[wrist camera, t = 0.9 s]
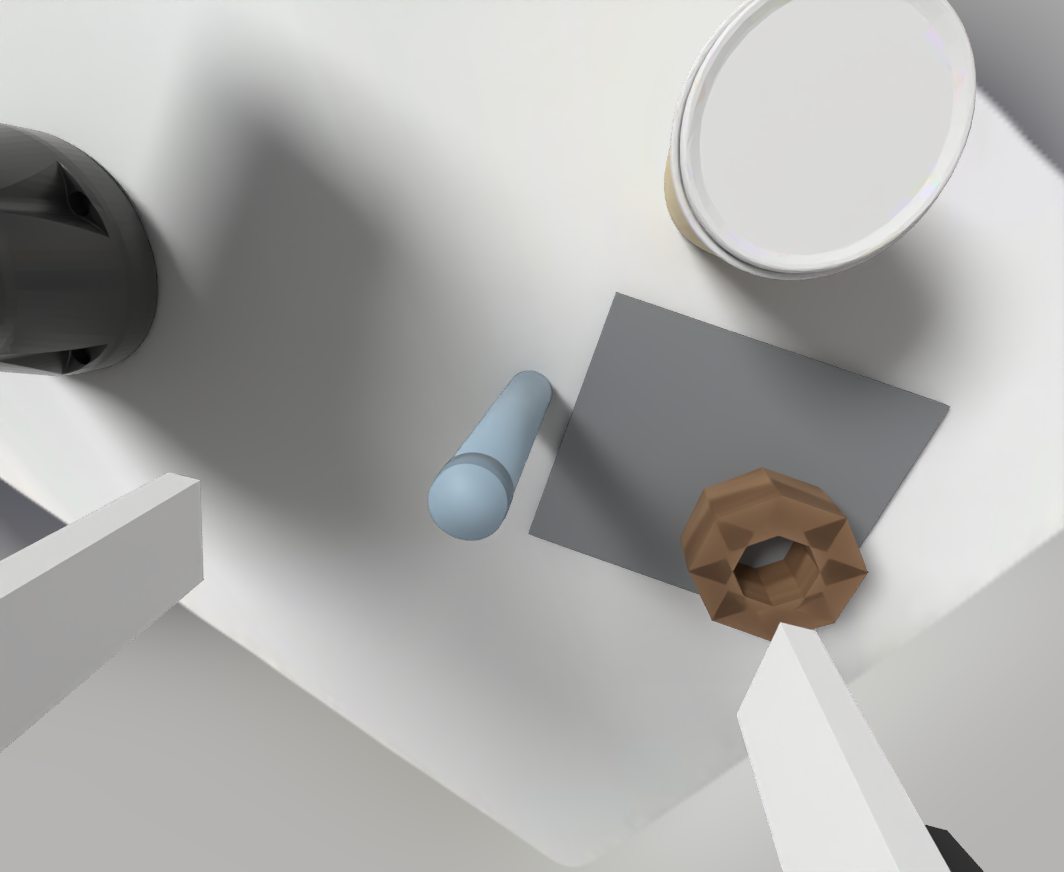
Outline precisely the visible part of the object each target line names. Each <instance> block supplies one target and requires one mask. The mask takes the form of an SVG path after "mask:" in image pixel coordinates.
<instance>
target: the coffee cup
mask: <svg viewBox="0 0 1064 872" xmlns="http://www.w3.org/2000/svg"><path fill="white" fill-rule="evenodd" d="M975 97H976V71H975V64H974V57H973V53H972V49H971V45H970V41H969V38H968V36H967V34H966V31H965V29H964V26H963V24H962V22H961V21H960V19H959V17H958V15H957V13H956V12H955V10H954V9H953V8H952V6H951V5H950V4H949V3H948V1H947V0H746V1H745V2H744V3H743V4H741V5H740V6H739V7H738V8H737V9H736V10H735V11H734V12H733V13H732V14H731V15H730V16H729V17H728V18H727V19H726V20H725V21H724V22H723V23H722V24H721V25H720V26H719V27H718V29H717V30H716V31H715V32H714V34H713V35H712V36H711V37H710V38H709V40H708V41H707V43H706V44H705V46H704V47H703V49H702V50H701V52H700V53H699V55H698V56H697V58H696V60H695V62H694V64H693V66H692V67H691V69H690V71H689V73H688V76H687V78H686V80H685V82H684V85H683V87H682V90H681V93H680V96H679V99H678V102H677V105H676V110H675V114H674V118H673V124H672V131H671V139H670V148H669V152H668V157H667V162H666V168H665V176H664V191H665V200H666V205H667V208H668V212H669V214H670V216H671V219H672V220H673V222H674V224H675V226H676V227H677V228H678V230H679V231H680V232H681V234H682V235H683V236H684V237H686V238H687V239H688V240H689V241H690V242H691V243H693V244H694V245H696V246H697V247H699V248H701V249H703V250H705V251H707V252H709V253H711V254H713V255H715V256H717V257H719V258H720V259H722V260H723V261H725V262H726V263H728V264H730V265H732V266H734V267H735V268H737V269H739V270H742V271H744V272H747V273H750V274H752V275H756V276H760V277H764V278H770V279H778V280H804V279H813V278H818V277H823V276H828V275H832V274H835V273H838V272H841V271H845V270H847V269H850V268H852V267H854V266H857V265H859V264H861V263H863V262H865V261H867V260H869V259H871V258H873V257H874V256H876V255H877V254H879V253H881V252H882V251H884V250H885V249H887V248H888V247H890V246H891V245H892V244H893V243H895V242H896V241H897V240H899V239H900V238H901V237H902V236H903V235H904V234H906V233H907V232H908V231H909V230H910V229H911V228H912V227H913V226H914V225H915V224H916V223H917V222H918V221H919V220H920V219H921V218H922V216H923V215H924V214H925V213H926V212H927V211H928V209H929V208H930V207H931V205H932V204H933V203H934V202H935V200H936V199H937V198H938V196H939V194H940V193H941V191H942V190H943V188H944V187H945V185H946V184H947V182H948V180H949V179H950V177H951V175H952V173H953V171H954V169H955V167H956V165H957V163H958V161H959V159H960V157H961V154H962V152H963V150H964V147H965V145H966V142H967V138H968V135H969V132H970V129H971V124H972V119H973V114H974V109H975Z"/></svg>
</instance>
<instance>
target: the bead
mask: <svg viewBox="0 0 1064 872" xmlns="http://www.w3.org/2000/svg"><path fill="white" fill-rule="evenodd" d="M847 519H848V518H847V517H846V516H845V515H844V514H843V513H842V512H841V510H840V509H839V508H838V507H837V506H836V505H835V504H834V503H833V501H832V500H831V499H830V498H829V497H828V496H827V495H826V494H825V492H824V491H823V490H822V489H821V488H820V487H817V486H814V485H811V484H809V483H806V482H803V481H800V480H797V479H794V478H791V477H788V476H785V475H783V474H780V473H777V472H774V471H771V470H768V469H765V468H763V467H761V468H759V469H756V470H753V471H751V472H748V473H745V474H743V475H740V476H738V477H735V478H732V479H730V480H727V481H724V482H722V483H719V484H716V485H714V486H711V487H708V488H706V489H703V491H702V494H701V496H700V498H699V500H698V502H697V504H696V506H695V508H694V510H693V512H692V514H691V516H690V518H689V520H688V522H687V524H686V526H685V528H684V530H683V532H682V534H681V536H680V540H681V544H682V548H683V552H684V556H685V560H686V564H687V568H688V572H689V573H690V575H691V577H692V579H693V582H694V584H695V586H696V588H697V590H698V592H699V594H700V596H701V598H702V600H703V602H704V604H705V606H706V608H707V611H708V613H709V615H710V617H711V620H712V621H716V622H718V623H721V624H724V625H727V626H730V627H732V628H735V629H738V630H741V631H744V632H747V633H749V634H752V635H755V636H758V637H761V638H764V639H766V640H769V641H772V639H773V637H774V634H775V632H776V630H777V628H778V626H779V624H780V622H781V623H786V624H790V625H794V626H798V627H802V628H806V629H810V630H811V629H814V628H818V627H821V626H825V625H828V624H832V623H835V621H836V619H837V618H838V616H839V615H840V613H841V612H842V610H843V609H844V607H845V606H846V604H847V603H848V601H849V600H850V598H851V597H852V595H853V594H854V592H855V591H856V589H857V588H858V586H859V585H860V583H861V582H862V580H863V579H864V577H865V576H866V574H867V573H868V571H867V569H866V567H865V564H864V561H863V559H862V556H861V554H860V551H859V548H858V546H857V543H856V540H855V538H854V535H853V533H852V530H851V527H850V525H849V522H848V520H847ZM776 536H781V537H784V538H787V539H790V540H793V541H794V542H793V544H792V545H791V547H790V549H789V551H788V552H787V554H786V556H785V557H784V559H783V560H780V561H777V562H774V563H771V564H767V565H764V566H761V567H758V568H753V567H750V566H747V565H745V564H742V563H739V562H738V561H739V559H740V558H741V556H742V554H743V552H744V550H745V549H746V547H747V546H750V545H753V544H756V543H759V542H761V541H764V540H767V539H770V538H773V537H776Z"/></svg>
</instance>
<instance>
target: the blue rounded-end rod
mask: <svg viewBox="0 0 1064 872" xmlns="http://www.w3.org/2000/svg"><path fill="white" fill-rule="evenodd" d="M551 395H552V390H551V386H550V383H549V381H548V380H547V379H546V378H545V377H544V376H543V375H542V374H540V373H538V372H535V371H523V372H520V373H519V374H517V375H516V376H515V377H514V378H513V379H512V380H511V381H510V383H509V384H508V385H507V387H506V388H505V389H504V391H503V392H502V393H501V395H500V396H499V397H498V399H497V400H496V401H495V403H494V404H493V405H492V407H491V408H490V409H489V410H488V412H487V413H486V414H485V416H484V417H483V418H482V420H481V421H480V422H479V424H478V425H477V426H476V428H475V429H474V430H473V432H472V433H471V434H470V436H469V437H468V438H467V440H466V441H465V442H464V443H463V445H462V446H461V447H460V449H459V450H458V451H457V453H456V454H455V455H454V457H453V458H452V459H451V460H450V461H449V462H448V463H447V464H446V465H445V466H444V468H443V469H442V470H441V472H440V473H439V474H438V476H437V477H436V478H435V480H434V482H433V484H432V486H431V488H430V491H429V495H428V507H429V511H430V514H431V516H432V518H433V520H434V521H435V523H436V524H437V525H438V526H439V527H440V528H441V529H442V530H443V531H444V532H446V533H447V534H449V535H451V536H453V537H455V538H458V539H462V540H480V539H483V538H486V537H488V536H490V535H491V534H493V533H494V532H495V531H496V530H497V529H498V528H499V526H500V525H501V523H502V522H503V520H504V519H505V517H506V515H507V512H508V510H509V507H510V504H511V502H512V499H513V493H514V491H515V488H516V486H517V483H518V481H519V478H520V476H521V473H522V470H523V468H524V465H525V463H526V460H527V458H528V455H529V453H530V450H531V448H532V445H533V443H534V440H535V438H536V435H537V432H538V430H539V427H540V425H541V422H542V420H543V417H544V415H545V412H546V410H547V407H548V405H549V402H550V400H551Z"/></svg>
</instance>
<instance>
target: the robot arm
mask: <svg viewBox="0 0 1064 872" xmlns="http://www.w3.org/2000/svg"><path fill="white" fill-rule="evenodd" d="M156 298H157V279H156V270H155V264H154V259H153V255H152V251H151V248H150V245H149V241H148V239H147V236H146V233H145V231H144V228H143V226H142V224H141V222H140V220H139V218H138V216H137V214H136V212H135V210H134V209H133V207H132V205H131V204H130V202H129V201H128V199H127V198H126V196H125V195H124V193H123V192H122V191H121V189H120V188H119V187H118V185H117V184H116V183H115V182H114V180H113V179H112V178H111V177H110V176H109V175H108V174H107V173H106V172H105V171H104V170H103V169H102V168H101V167H100V166H99V165H98V164H97V163H96V162H95V161H93V160H92V159H91V158H90V157H89V156H87V155H86V154H85V153H83V152H82V151H80V150H79V149H77V148H76V147H74V146H73V145H71V144H69V143H67V142H66V141H64V140H62V139H59V138H57V137H55V136H52V135H50V134H47V133H44V132H40V131H36V130H31V129H26V128H22V127H17V126H12V125H7V124H2V123H0V372H12V373H24V374H37V375H49V376H63V375H74V374H79V373H84V372H88V371H92V370H97V369H101V368H105V367H109V366H112V365H114V364H116V363H118V362H120V361H122V360H124V359H125V358H127V357H128V356H129V355H131V354H132V353H133V352H134V351H135V350H136V349H137V348H138V346H139V345H140V344H141V343H142V341H143V340H144V338H145V336H146V334H147V333H148V330H149V328H150V326H151V323H152V320H153V316H154V312H155V307H156ZM203 580H204V578H203V548H202V518H201V487H200V480H198V479H194V478H190V477H186V476H182V475H177V474H173V473H169V472H167V473H166V474H164V475H162V476H160V477H158V478H156V479H154V480H152V481H150V482H149V483H147V484H145V485H143V486H141V487H139V488H137V489H135V490H134V491H132V492H130V493H128V494H126V495H124V496H122V497H120V498H118V499H117V500H115V501H113V502H111V503H109V504H107V505H105V506H103V507H101V508H100V509H98V510H96V511H94V512H92V513H90V514H88V515H86V516H84V517H83V518H81V519H79V520H77V521H75V522H73V523H71V524H69V525H67V526H66V527H64V528H62V529H60V530H58V531H56V532H54V533H52V534H51V535H49V536H47V537H45V538H43V539H41V540H39V541H37V542H35V543H34V544H32V545H30V546H28V547H26V548H24V549H22V550H20V551H18V552H17V553H15V554H13V555H11V556H9V557H7V558H5V559H3V560H1V561H0V752H2V751H3V750H4V749H5V748H6V747H8V746H9V745H10V744H11V743H12V742H13V741H14V740H16V739H17V738H18V737H19V736H20V735H22V734H23V733H24V732H25V731H26V730H27V729H29V728H30V727H31V726H32V725H33V724H35V723H36V722H37V721H38V720H39V719H40V718H42V717H43V716H44V715H45V714H46V713H48V712H49V711H50V710H51V709H52V708H53V707H54V706H56V705H57V704H58V703H59V702H60V701H61V700H63V699H64V698H65V697H66V696H67V695H69V694H70V693H71V692H72V691H73V690H74V689H76V688H77V687H78V686H79V685H80V684H82V683H83V682H84V681H85V680H86V679H88V678H89V677H90V676H91V675H92V674H93V673H95V672H96V671H97V670H98V669H99V668H100V667H102V666H103V665H104V664H105V663H106V662H107V661H109V660H110V659H111V658H112V657H113V656H115V655H116V654H117V653H118V652H119V651H120V650H122V649H123V648H124V647H125V646H126V645H127V644H129V643H130V642H131V641H132V640H133V639H135V638H136V637H137V636H138V635H139V634H140V633H142V632H143V631H144V630H145V629H146V628H148V627H149V626H150V625H151V624H152V623H153V622H155V620H157V619H158V618H159V617H160V616H162V615H163V614H164V613H165V612H166V611H167V610H169V609H170V608H171V607H172V606H173V605H174V604H176V603H177V602H178V601H179V600H180V599H182V598H183V597H184V596H185V595H186V594H188V593H189V592H190V591H191V590H192V589H193V588H195V587H196V586H197V585H198V584H199V583H200V582H202V581H203ZM737 718H738V722H739V725H740V728H741V732H742V735H743V739H744V742H745V745H746V749H747V752H748V756H749V759H750V763H751V766H752V769H753V773H754V776H755V780H756V783H757V787H758V790H759V793H760V797H761V800H762V804H763V807H764V810H765V814H766V817H767V820H768V824H769V828H770V831H771V834H772V838H773V841H774V845H775V848H776V852H777V855H778V858H779V861H780V865H781V869H782V872H983V870H982V869H981V868H980V867H979V866H978V865H977V864H976V862H975V861H974V860H973V859H972V858H971V857H970V856H969V855H968V853H967V852H966V851H965V850H964V849H963V848H962V847H961V846H960V844H958V842H957V841H956V840H955V839H954V838H953V837H952V835H951V834H950V833H949V832H948V831H947V830H943V829H939V828H935V827H932V826H928V825H924V823H923V821H922V820H921V818H920V816H919V815H918V813H917V811H916V809H915V807H914V805H913V804H912V802H911V800H910V798H909V796H908V795H907V793H906V791H905V789H904V787H903V786H902V784H901V782H900V780H899V779H898V777H897V775H896V773H895V771H894V770H893V768H892V766H891V765H890V762H889V761H888V759H887V757H886V755H885V754H884V752H883V750H882V749H881V746H880V745H879V743H878V741H877V740H876V737H875V736H874V734H873V732H872V730H871V729H870V727H869V725H868V723H867V721H866V720H865V718H864V716H863V714H862V712H861V711H860V709H859V707H858V705H857V704H856V702H855V700H854V699H853V696H852V695H851V693H850V691H849V689H848V687H847V686H846V684H845V682H844V680H843V679H842V677H841V675H840V673H839V671H838V670H837V668H836V666H835V664H834V662H833V661H832V659H831V657H830V655H829V654H828V652H827V650H826V648H825V646H824V645H823V643H822V641H821V639H820V637H819V636H818V634H817V632H816V631H814V630H810V629H806V628H802V627H798V626H794V625H790V624H786V623H781V622H780V624H779V626H778V628H777V630H776V632H775V634H774V637H773V639H772V641H771V643H770V645H769V647H768V649H767V651H766V653H765V656H764V658H763V660H762V662H761V664H760V666H759V668H758V670H757V673H756V675H755V677H754V679H753V681H752V683H751V685H750V687H749V689H748V692H747V694H746V696H745V698H744V700H743V702H742V704H741V706H740V708H739V711H738V713H737Z"/></svg>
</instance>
